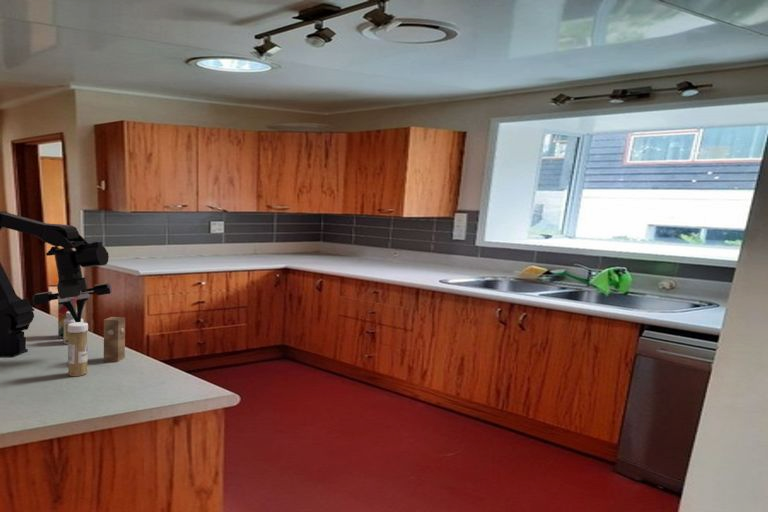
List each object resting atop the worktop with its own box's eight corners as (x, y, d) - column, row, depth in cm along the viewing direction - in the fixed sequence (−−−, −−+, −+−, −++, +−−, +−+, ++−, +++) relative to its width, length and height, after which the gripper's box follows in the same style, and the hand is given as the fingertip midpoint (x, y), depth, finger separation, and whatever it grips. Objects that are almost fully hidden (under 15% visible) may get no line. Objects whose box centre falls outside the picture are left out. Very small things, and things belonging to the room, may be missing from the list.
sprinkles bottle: (88, 375, 130) (88, 324, 129) (67, 377, 127) (67, 326, 126) (87, 370, 134) (87, 321, 132) (67, 372, 131) (67, 322, 130)
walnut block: (103, 361, 141) (103, 320, 140) (110, 357, 145) (111, 316, 144) (118, 362, 141) (118, 320, 140) (125, 357, 146) (125, 317, 144)
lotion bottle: (57, 339, 159) (57, 277, 158) (59, 335, 164) (59, 275, 163) (78, 338, 162) (78, 277, 160) (79, 334, 167) (79, 275, 165)
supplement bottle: (86, 342, 158) (87, 312, 157) (68, 345, 154) (68, 314, 153) (78, 339, 161) (78, 309, 160) (60, 342, 157) (59, 311, 156)
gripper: (22, 276, 130) (33, 335, 131) (103, 266, 137) (113, 321, 139) (32, 274, 140) (42, 328, 141) (107, 264, 147) (116, 315, 149)
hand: (78, 323), depth 142 cm, fingers closed
